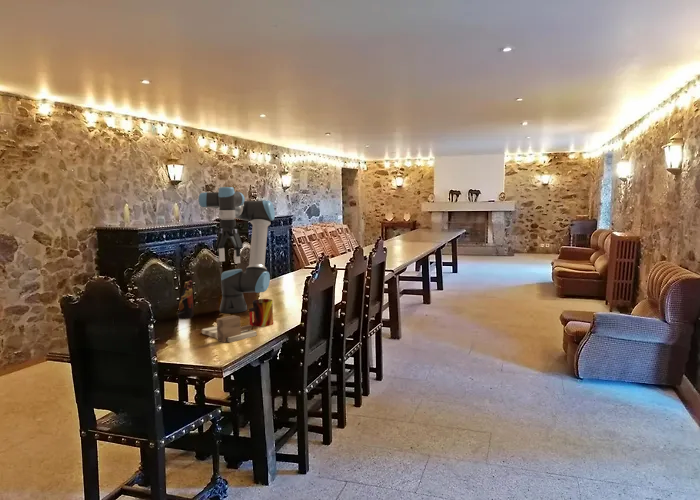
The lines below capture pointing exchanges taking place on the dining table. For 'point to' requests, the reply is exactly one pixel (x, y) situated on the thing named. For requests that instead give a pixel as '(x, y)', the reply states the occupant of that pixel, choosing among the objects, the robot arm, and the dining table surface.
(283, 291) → the dining table surface
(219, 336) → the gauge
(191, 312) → the statue
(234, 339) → the board
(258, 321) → the mug
